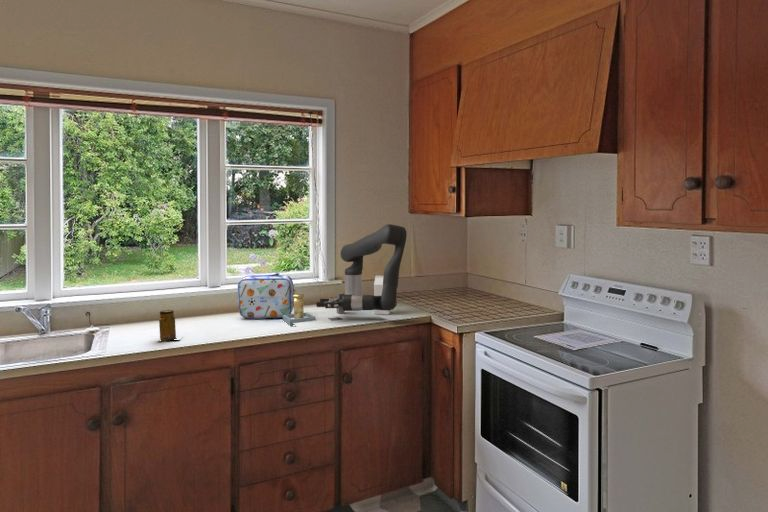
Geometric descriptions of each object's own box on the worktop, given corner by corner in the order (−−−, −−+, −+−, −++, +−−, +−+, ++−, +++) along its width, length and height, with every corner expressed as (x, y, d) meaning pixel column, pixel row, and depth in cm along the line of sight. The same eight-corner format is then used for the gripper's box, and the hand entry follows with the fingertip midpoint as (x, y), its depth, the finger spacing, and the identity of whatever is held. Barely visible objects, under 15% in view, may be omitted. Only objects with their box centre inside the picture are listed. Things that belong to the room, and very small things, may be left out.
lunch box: (297, 314, 262) (296, 270, 260) (295, 319, 251) (294, 273, 249) (241, 316, 260) (239, 272, 258) (237, 320, 250) (235, 274, 248)
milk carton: (388, 315, 258) (388, 276, 256) (374, 314, 259) (373, 276, 257) (391, 312, 265) (390, 274, 263) (377, 311, 266) (376, 274, 264)
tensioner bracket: (317, 317, 253) (317, 294, 252) (344, 314, 259) (344, 292, 258) (331, 325, 237) (330, 300, 236) (359, 321, 243) (359, 297, 242)
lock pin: (292, 319, 245) (291, 294, 244) (302, 318, 247) (302, 293, 246) (295, 321, 240) (294, 296, 239) (306, 320, 243) (305, 295, 241)
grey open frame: (282, 321, 247) (282, 315, 246) (307, 318, 252) (307, 312, 252) (290, 326, 236) (289, 319, 236) (315, 323, 241) (315, 316, 241)
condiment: (161, 338, 218) (159, 309, 216) (182, 337, 219) (181, 308, 218) (157, 342, 210) (155, 313, 209) (179, 341, 212) (177, 312, 211)
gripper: (354, 292, 248) (321, 292, 249) (350, 297, 234) (314, 297, 235) (355, 307, 249) (321, 307, 250) (351, 313, 235) (315, 313, 236)
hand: (318, 302), depth 242 cm, fingers open, 8 cm apart
